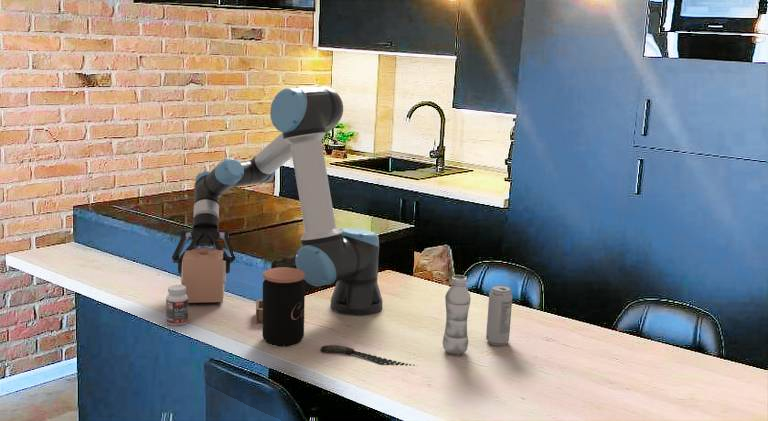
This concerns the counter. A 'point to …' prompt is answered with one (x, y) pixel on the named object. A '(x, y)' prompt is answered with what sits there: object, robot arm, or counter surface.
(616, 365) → the counter surface
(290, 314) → the coffee jar
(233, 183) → the robot arm
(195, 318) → the counter surface
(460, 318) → the plastic bottle
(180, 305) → the pill bottle
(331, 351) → the knife
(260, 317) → the walnut open box
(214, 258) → the cube with knob
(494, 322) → the energy drink can
